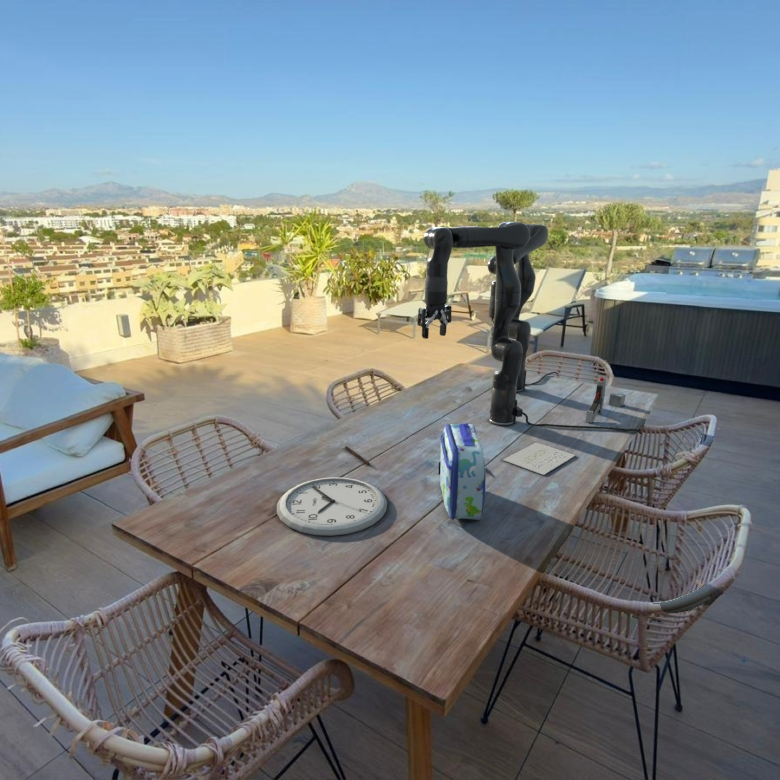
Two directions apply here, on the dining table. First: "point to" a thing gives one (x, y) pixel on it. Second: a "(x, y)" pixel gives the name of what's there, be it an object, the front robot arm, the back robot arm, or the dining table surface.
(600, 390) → the toy gun
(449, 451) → the lunch box
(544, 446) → the invitation card
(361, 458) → the brown thin stick
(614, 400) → the block
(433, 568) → the dining table surface
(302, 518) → the wall clock
